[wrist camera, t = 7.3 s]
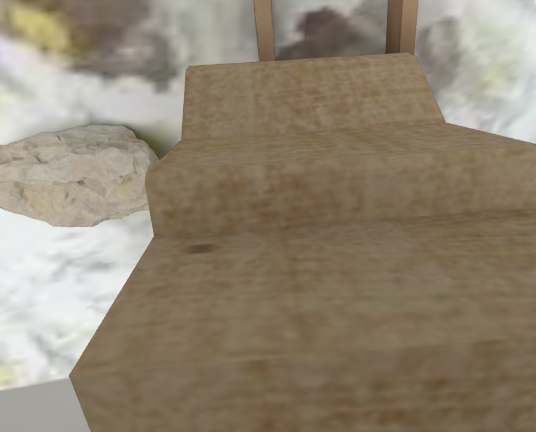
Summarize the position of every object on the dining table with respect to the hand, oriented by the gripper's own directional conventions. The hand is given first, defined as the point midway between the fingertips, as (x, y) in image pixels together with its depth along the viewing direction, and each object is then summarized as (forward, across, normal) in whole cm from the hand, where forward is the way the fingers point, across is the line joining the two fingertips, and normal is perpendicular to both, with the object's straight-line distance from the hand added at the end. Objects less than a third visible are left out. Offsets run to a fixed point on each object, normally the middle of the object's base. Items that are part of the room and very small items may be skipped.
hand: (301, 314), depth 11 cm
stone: (+17, +15, -3) cm, 23 cm away
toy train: (+3, 0, 0) cm, 3 cm away
